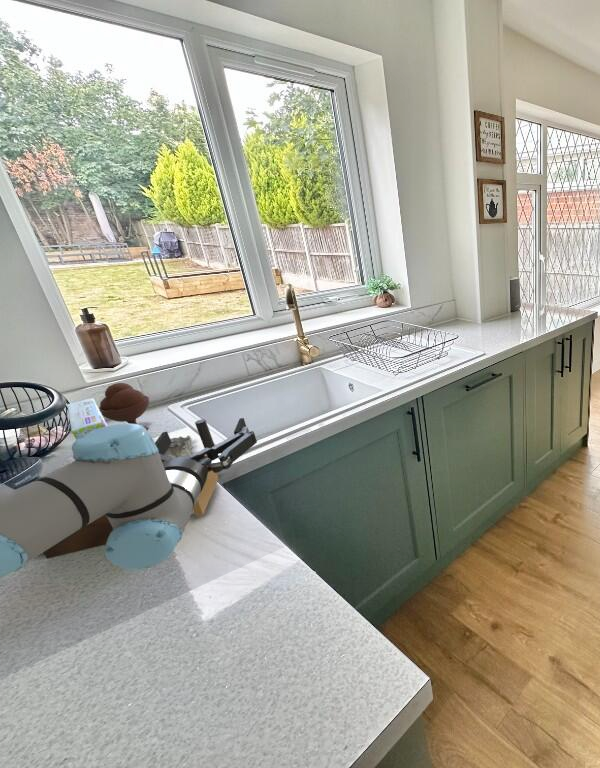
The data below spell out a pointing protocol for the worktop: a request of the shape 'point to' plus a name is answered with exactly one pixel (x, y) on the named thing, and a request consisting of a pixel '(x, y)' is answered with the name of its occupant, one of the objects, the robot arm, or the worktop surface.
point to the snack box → (85, 417)
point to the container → (212, 474)
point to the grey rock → (179, 447)
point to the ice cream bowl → (123, 403)
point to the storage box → (83, 538)
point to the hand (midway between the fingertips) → (206, 430)
